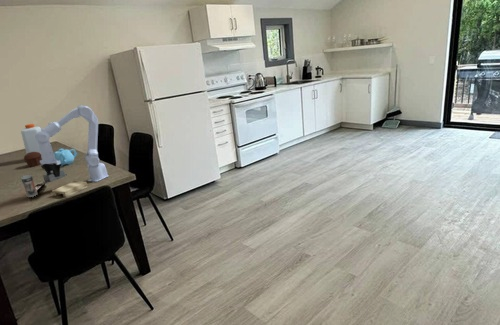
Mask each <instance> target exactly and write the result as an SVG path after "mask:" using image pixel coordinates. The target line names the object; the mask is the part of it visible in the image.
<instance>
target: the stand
mask: <svg viewBox="0 0 500 325" xmlns="http://www.w3.org/2000/svg"><path fill="white" fill-rule="evenodd" d="M86 188H89V184H88V181H82V180H81V181H80V180H79V181H78V180H74V181H71V182H69V183H66V184H65V185H62V186H60V187H58V188H55V189H52V190H51V191H52V195H53V197H57V196H60V195H61V194H62V196H63V197H64V198H67V197H69V196H72V195H75V194H76V193H78V192H80V191H82V190H85V189H86Z"/></svg>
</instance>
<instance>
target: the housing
mask: <svg viewBox="0 0 500 325" xmlns="http://www.w3.org/2000/svg"><path fill="white" fill-rule="evenodd" d="M66 176H67V174H66V173H65V169H60V176H58V177H55V175H54V172H53V171H50V172H49V173H47V172H46V173H44V174H42V177H43V182H42V183H43V184H49V183H53V182H54V181H58V180H60V179H63V178H64V177H65V178H66Z"/></svg>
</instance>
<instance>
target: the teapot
mask: <svg viewBox="0 0 500 325" xmlns="http://www.w3.org/2000/svg"><path fill="white" fill-rule="evenodd" d="M72 152H73V153H72ZM53 153H54V156H55V159H56V160H59V161H60V162H61V167H63V166H64V165H68V166H69V165H73V164H72V163H73V162H74V161H75V158H76V157H77V156H78V153H77V151H76V149H75V148H72V149H69V148H68V149H64V148H59V149H58V150H57V151H54V152H53ZM61 167H60V168H61Z"/></svg>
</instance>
